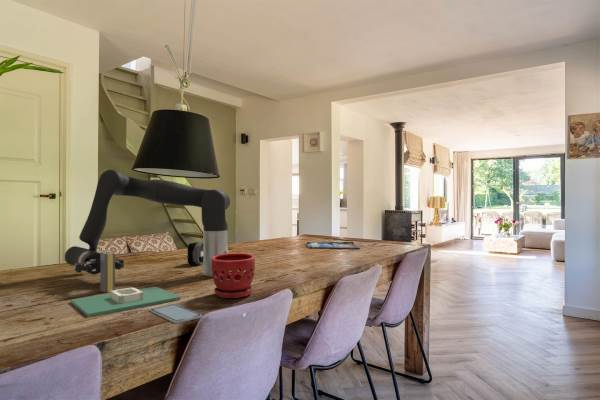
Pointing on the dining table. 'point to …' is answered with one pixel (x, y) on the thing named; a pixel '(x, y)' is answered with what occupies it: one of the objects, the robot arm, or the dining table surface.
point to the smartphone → (175, 313)
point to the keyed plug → (107, 272)
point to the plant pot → (233, 274)
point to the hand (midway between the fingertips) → (105, 267)
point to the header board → (123, 300)
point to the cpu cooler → (195, 253)
